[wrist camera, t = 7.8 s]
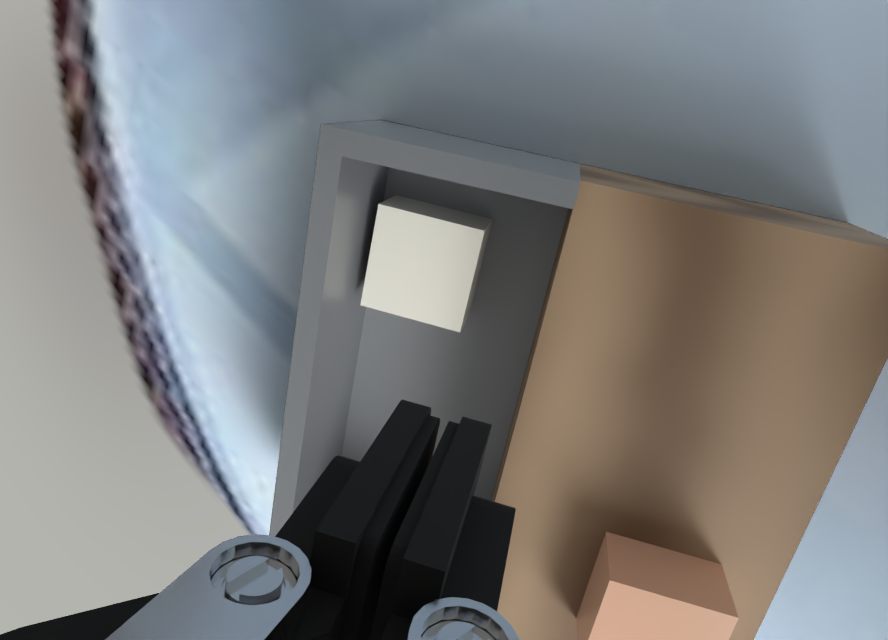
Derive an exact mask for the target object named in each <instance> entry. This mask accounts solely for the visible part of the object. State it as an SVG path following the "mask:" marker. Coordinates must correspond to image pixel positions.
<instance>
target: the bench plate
mask: <svg viewBox="0 0 888 640" xmlns="http://www.w3.org/2000/svg"><path fill="white" fill-rule="evenodd" d="M579 165H580V178H581V184H580V187H579V191H578V195H577V199H576V202H575V206H574V209H570V208H568V210H567V214H566V218H565V222H564V226H563V229H562V233H561V237H560V241H559V244H558V248H557V252H556V256H555V260H554V263H553V267H552V271H551V275H550V278H549V282H548V286H547V290H546V294H545V297H544V301H543V305H542V309H541V313H540V316H539V320H538V324H537V328H536V331H535V335H534V339H533V343H532V347H531V350H530V354H529V358H528V362H527V365H526V369H525V373H524V377H523V381H522V384H521V388H520V392H519V396H518V399H517V403H516V407H515V411H514V415H513V418H512V422H511V426H510V430H509V433H508V437H507V441H506V445H505V449H504V452H503V456H502V460H501V464H500V467H499V471H498V475H497V479H496V483H495V486H494V490H493V494H492V498H491V501H493V502H497V503H500V504H504V505H507V506H510V507H514V508H516V511H515V517H514V522H513V528H512V533H511V539H510V544H509V550H508V555H507V560H506V566H505V571H504V577H503V582H502V587H501V593H500V598H499V604H498V609H497V612H499V613H500V614H501V615H502V616H503V617H504V618H505V619H506V620H507V621H508V622H509V623H510V624H511V625H512V627H513V629H514V630H515V632H516V634H517V635H518V637H519V639H520V640H576V618H577V615H578V612H579V609H580V606H581V603H582V600H583V597H584V594H585V592H586V589H587V586H588V583H589V580H590V577H591V574H592V571H593V568H594V565H595V563H596V560H597V557H598V554H599V551H600V548H601V545H602V542H603V539H604V537H605V534H606V532H609V533H613V534H616V535H620V536H623V537H627V538H630V539H634V540H637V541H641V542H644V543H648V544H652V545H655V546H659V547H662V548H666V549H669V550H673V551H676V552H680V553H683V554H687V555H690V556H694V557H697V558H701V559H704V560H708V561H711V562H715V563H718V564H722V567H723V570H724V573H725V576H726V580H727V583H728V586H729V589H730V592H731V595H732V598H733V601H734V605H735V608H736V611H737V614H738V617H739V619H738V621H737V623H736V625H735V627H734V630H733V632H732V634H731V636H730V638H729V640H754V638H755V635H756V633H757V631H758V629H759V627H760V625H761V623H762V621H763V619H764V616H765V614H766V612H767V610H768V608H769V606H770V604H771V602H772V600H773V598H774V595H775V593H776V591H777V589H778V587H779V585H780V583H781V581H782V579H783V577H784V574H785V572H786V570H787V568H788V566H789V564H790V562H791V560H792V558H793V556H794V553H795V551H796V549H797V547H798V545H799V543H800V541H801V539H802V537H803V535H804V532H805V530H806V528H807V526H808V524H809V522H810V520H811V518H812V516H813V513H814V511H815V509H816V507H817V505H818V503H819V501H820V499H821V497H822V495H823V492H824V490H825V488H826V486H827V484H828V482H829V480H830V478H831V476H832V474H833V471H834V469H835V467H836V465H837V463H838V461H839V459H840V457H841V455H842V453H843V450H844V448H845V446H846V444H847V442H848V440H849V438H850V436H851V434H852V431H853V429H854V427H855V425H856V423H857V421H858V419H859V417H860V415H861V413H862V410H863V408H864V406H865V404H866V402H867V400H868V398H869V396H870V394H871V392H872V389H873V387H874V385H875V383H876V381H877V379H878V377H879V375H880V373H881V371H882V368H883V366H884V364H885V362H886V360H887V358H888V239H885V238H883V237H881V236H878V235H876V234H874V233H871V232H869V231H867V230H864V229H862V228H860V227H857V226H855V225H853V224H850V223H846V222H842V221H837V220H833V219H828V218H824V217H819V216H815V215H810V214H806V213H801V212H796V211H792V210H787V209H783V208H778V207H774V206H769V205H765V204H760V203H756V202H751V201H747V200H742V199H738V198H733V197H728V196H724V195H719V194H715V193H710V192H706V191H701V190H697V189H692V188H688V187H683V186H679V185H674V184H669V183H665V182H660V181H656V180H651V179H647V178H642V177H638V176H633V175H629V174H624V173H620V172H615V171H610V170H606V169H601V168H597V167H592V166H588V165H583V164H579Z"/></svg>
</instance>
